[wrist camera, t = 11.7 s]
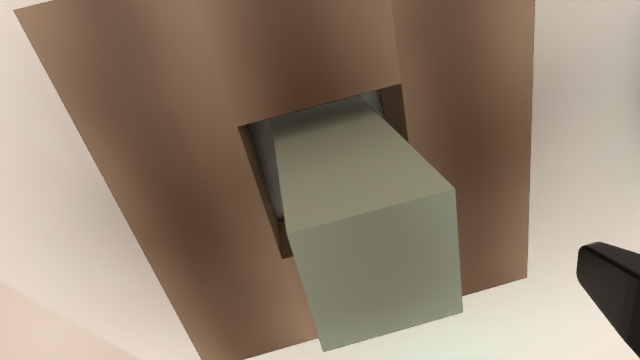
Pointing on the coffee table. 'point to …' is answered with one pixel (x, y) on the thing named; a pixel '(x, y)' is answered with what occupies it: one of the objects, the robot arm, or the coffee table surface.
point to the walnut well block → (278, 99)
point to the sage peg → (365, 223)
